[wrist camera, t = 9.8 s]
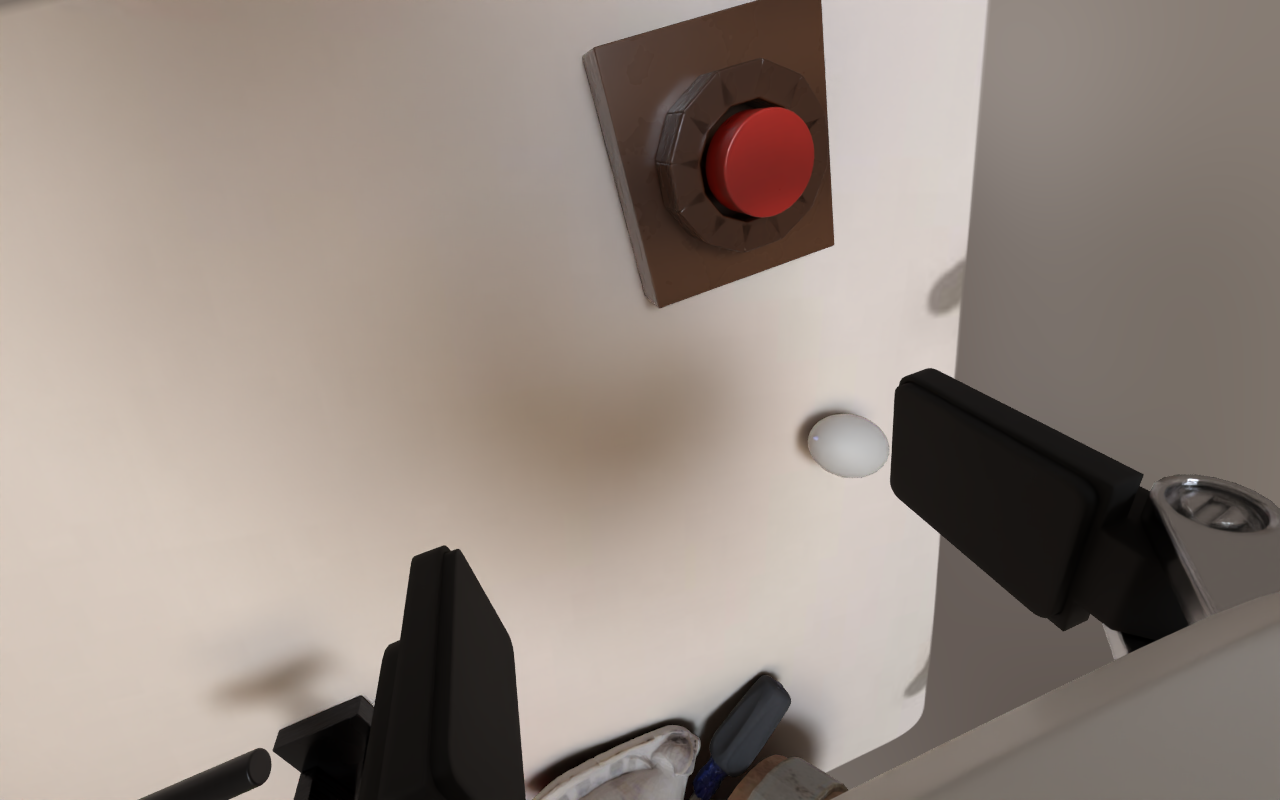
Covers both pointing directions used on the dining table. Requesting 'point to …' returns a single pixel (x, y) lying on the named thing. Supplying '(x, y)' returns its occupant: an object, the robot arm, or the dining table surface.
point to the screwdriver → (742, 735)
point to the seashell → (632, 770)
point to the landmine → (787, 781)
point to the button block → (682, 131)
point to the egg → (848, 445)
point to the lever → (221, 779)
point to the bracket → (329, 751)
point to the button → (760, 161)
